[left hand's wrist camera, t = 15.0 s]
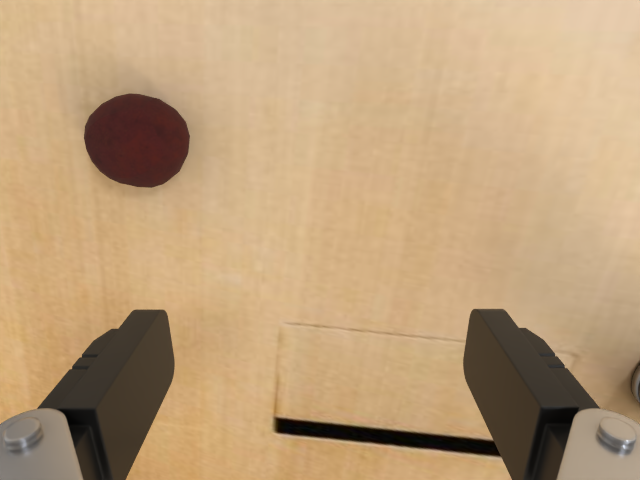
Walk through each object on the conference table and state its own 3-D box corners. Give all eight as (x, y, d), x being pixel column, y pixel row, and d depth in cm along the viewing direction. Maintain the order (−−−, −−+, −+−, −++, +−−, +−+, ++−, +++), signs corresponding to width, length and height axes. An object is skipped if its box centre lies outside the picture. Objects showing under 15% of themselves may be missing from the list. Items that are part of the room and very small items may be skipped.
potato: (95, 112, 37) (46, 121, 30) (174, 76, 36) (142, 78, 29) (139, 189, 40) (103, 213, 33) (214, 158, 38) (192, 176, 32)
